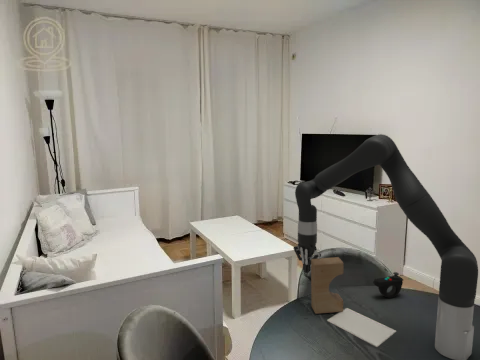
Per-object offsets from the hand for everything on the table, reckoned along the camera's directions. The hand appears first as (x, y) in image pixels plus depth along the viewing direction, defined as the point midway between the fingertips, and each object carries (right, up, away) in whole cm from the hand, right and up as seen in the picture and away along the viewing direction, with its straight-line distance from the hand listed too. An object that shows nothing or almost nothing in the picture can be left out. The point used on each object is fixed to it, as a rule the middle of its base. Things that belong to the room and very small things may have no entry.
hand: (306, 272), depth 138 cm
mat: (+16, -15, -17) cm, 27 cm away
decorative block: (+7, -13, -6) cm, 16 cm away
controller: (+34, -11, +3) cm, 36 cm away
